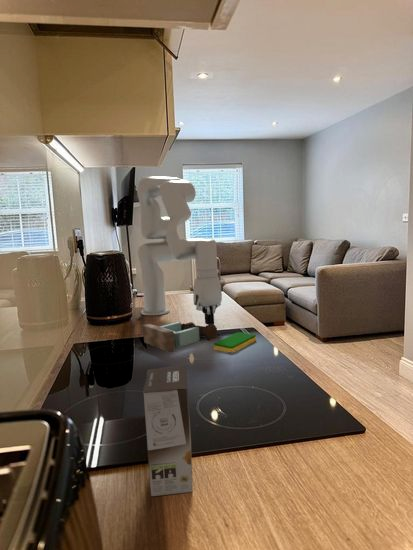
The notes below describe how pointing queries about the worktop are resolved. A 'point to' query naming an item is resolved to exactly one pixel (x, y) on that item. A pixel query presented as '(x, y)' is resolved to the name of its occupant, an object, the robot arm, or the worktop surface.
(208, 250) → the robot arm
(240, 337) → the dish sponge
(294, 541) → the worktop surface
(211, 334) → the bolt
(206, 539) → the worktop surface
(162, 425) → the coffee box
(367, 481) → the worktop surface
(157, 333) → the wooden plank
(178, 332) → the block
